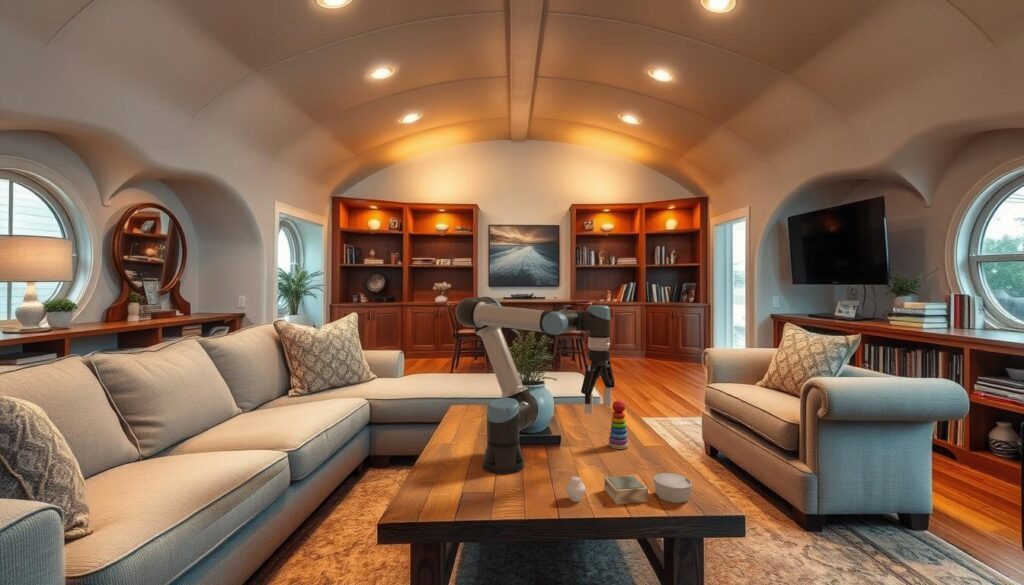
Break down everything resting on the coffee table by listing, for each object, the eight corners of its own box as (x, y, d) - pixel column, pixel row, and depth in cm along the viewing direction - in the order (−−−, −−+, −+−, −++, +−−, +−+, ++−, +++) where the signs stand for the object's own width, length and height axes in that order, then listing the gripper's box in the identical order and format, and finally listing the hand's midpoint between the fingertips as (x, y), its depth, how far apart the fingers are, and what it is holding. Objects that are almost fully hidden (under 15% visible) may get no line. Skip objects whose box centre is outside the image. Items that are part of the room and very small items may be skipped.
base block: (616, 504, 138) (616, 490, 138) (604, 489, 148) (604, 476, 148) (648, 501, 139) (647, 487, 139) (634, 487, 149) (634, 474, 149)
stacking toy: (630, 450, 184) (630, 403, 184) (610, 450, 184) (610, 403, 184) (626, 443, 192) (626, 398, 192) (606, 443, 192) (606, 398, 192)
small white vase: (573, 493, 145) (573, 471, 145) (589, 499, 141) (589, 476, 141) (561, 499, 141) (561, 476, 141) (577, 506, 137) (577, 482, 136)
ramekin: (695, 506, 136) (695, 488, 136) (656, 504, 138) (656, 486, 138) (687, 490, 147) (687, 473, 147) (651, 488, 149) (651, 471, 149)
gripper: (590, 353, 152) (590, 418, 152) (624, 346, 171) (623, 404, 171) (571, 351, 156) (570, 414, 156) (605, 345, 176) (605, 400, 176)
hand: (598, 409), depth 164 cm, fingers open, 13 cm apart
